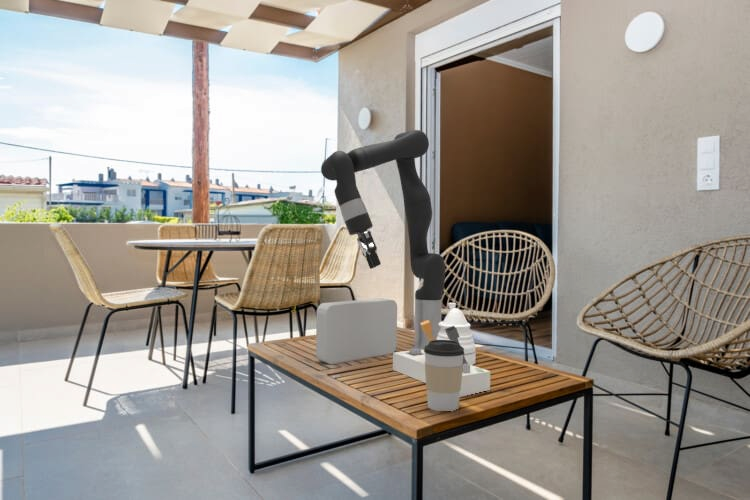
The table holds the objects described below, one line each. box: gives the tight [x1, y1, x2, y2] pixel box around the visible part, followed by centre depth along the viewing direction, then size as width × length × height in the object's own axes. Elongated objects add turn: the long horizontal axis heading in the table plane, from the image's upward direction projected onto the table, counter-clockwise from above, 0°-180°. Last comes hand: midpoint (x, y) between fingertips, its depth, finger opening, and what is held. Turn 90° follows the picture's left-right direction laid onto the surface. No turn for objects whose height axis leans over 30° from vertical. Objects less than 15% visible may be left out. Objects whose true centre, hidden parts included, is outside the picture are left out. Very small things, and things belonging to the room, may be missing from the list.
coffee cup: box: [424, 340, 464, 412], centre depth 113 cm, size 9×9×15 cm
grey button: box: [408, 347, 421, 356], centre depth 145 cm, size 3×3×3 cm
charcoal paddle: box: [445, 326, 468, 364], centre depth 127 cm, size 2×4×11 cm, turn 3°
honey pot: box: [436, 302, 477, 366], centre depth 157 cm, size 13×13×18 cm
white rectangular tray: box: [392, 349, 491, 398], centre depth 136 cm, size 10×29×7 cm, turn 32°
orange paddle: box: [420, 320, 434, 341], centre depth 136 cm, size 2×4×11 cm, turn 3°
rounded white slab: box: [315, 297, 398, 365], centre depth 161 cm, size 29×8×18 cm, turn 129°
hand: (375, 266), depth 150 cm, fingers open, 8 cm apart
